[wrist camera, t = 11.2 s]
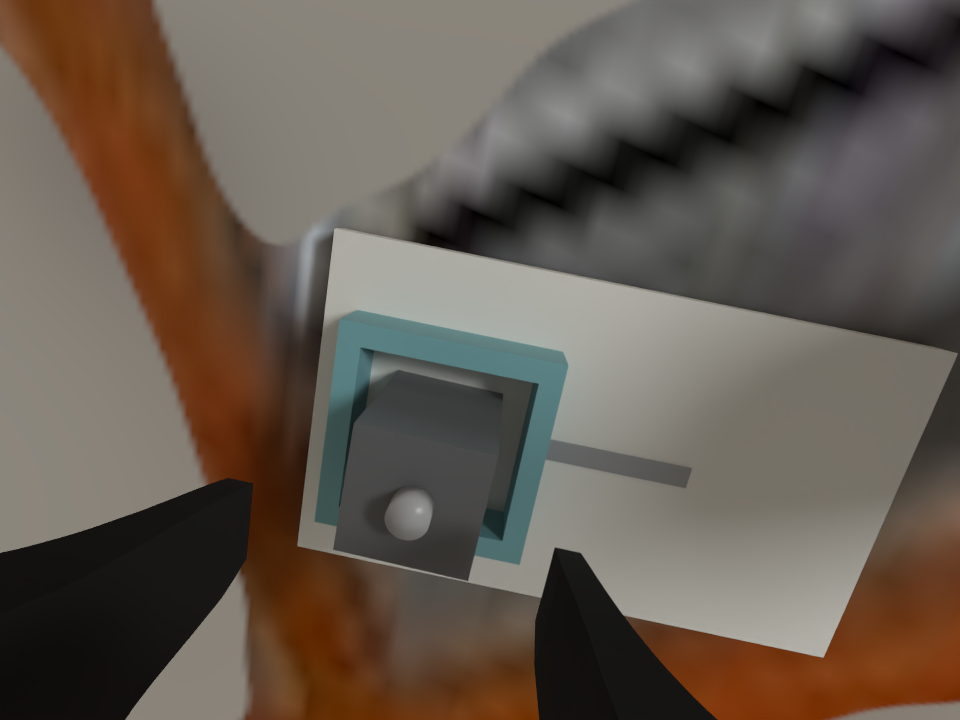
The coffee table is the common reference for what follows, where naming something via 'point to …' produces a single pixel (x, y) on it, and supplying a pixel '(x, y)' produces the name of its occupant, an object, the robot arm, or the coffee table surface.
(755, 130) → the coffee table surface
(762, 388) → the board
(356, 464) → the cable plug
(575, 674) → the robot arm
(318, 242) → the coffee table surface
